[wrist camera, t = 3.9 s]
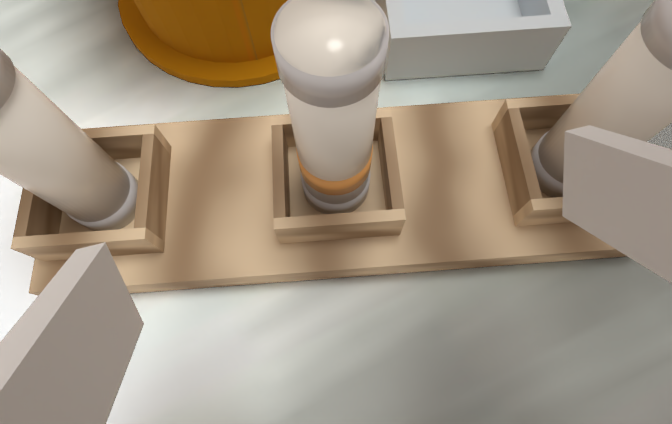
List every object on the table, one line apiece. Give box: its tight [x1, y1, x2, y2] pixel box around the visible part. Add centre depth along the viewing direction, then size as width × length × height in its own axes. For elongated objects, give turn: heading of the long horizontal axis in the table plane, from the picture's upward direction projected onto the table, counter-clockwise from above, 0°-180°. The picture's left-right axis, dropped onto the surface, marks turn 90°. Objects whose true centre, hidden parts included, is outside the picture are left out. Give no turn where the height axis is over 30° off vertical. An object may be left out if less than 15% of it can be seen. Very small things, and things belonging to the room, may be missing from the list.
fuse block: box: [11, 94, 626, 296], centre depth 25 cm, size 34×10×4 cm, turn 94°
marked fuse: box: [271, 0, 389, 214], centre depth 20 cm, size 4×4×12 cm
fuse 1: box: [0, 49, 138, 231], centre depth 19 cm, size 4×4×12 cm
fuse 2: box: [530, 0, 672, 198], centre depth 20 cm, size 4×4×12 cm
